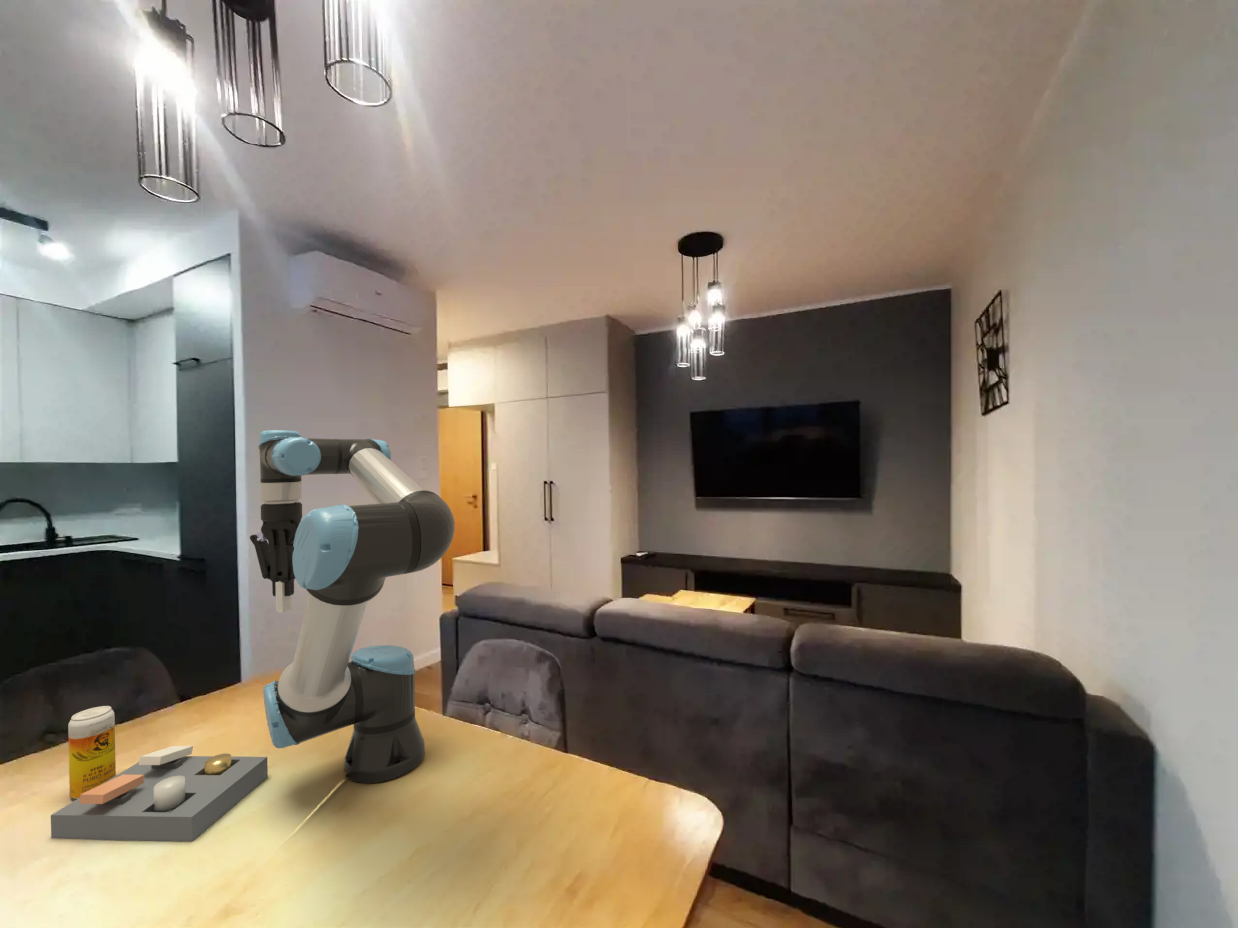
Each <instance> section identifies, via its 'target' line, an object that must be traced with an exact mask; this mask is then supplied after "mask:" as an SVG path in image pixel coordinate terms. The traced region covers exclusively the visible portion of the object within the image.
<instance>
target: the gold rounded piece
mask: <svg viewBox="0 0 1238 928" xmlns="http://www.w3.org/2000/svg"><path fill="white" fill-rule="evenodd" d="M212 756H213V755H212ZM231 756H232V754H230V753H219V754H217V755H214V756H213V757H211V758H209V759H208V760H206V761H205V763H204V771H205V775H221V774H223V773H224V772H225V771H227V770H228V769H229V768H230V767H231Z"/></svg>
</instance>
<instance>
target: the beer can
mask: <svg viewBox="0 0 1238 928" xmlns="http://www.w3.org/2000/svg"><path fill="white" fill-rule="evenodd" d="M115 721H116V719H115V712H114V710H113V709H112V706H110V705H102V706H96V707H91V708H88V709H85V710H84V709H83V710H81V711H79V712H76V713H75V714H73V715H72V716H71V718H70V721H69V722H68V726H67V729H68V731H67V732H68V775H69V797H70V798H72V799H74V800H75V799H78V798H80V794H82V793H85V792H87V791H89V790H91V789H93V788H95V787H97V786H99V785H101V784H103V783H105V782H106V781H108V780H110V779H111V778H113V777H115V776H116V775H117V773H116V771H117V770H116V769H117V767H116V765H117V764H116V761H117V760H116V729H115V728H116V724H115Z"/></svg>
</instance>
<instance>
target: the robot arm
mask: <svg viewBox="0 0 1238 928" xmlns="http://www.w3.org/2000/svg"><path fill="white" fill-rule="evenodd" d="M258 450H259V467H260V468H259V469H260V470H259V471H260V472H259V474H260V475H259V477H260V479H259V480H260V481H259V483H260V484H259V486H260V487H259V490H260V491H259V493H260V495H259V500H260V502H263V503H262V504H261V505H260V520H261V521H262V525H261V527H260V531H258V532H257V533H256V534H251V535H250V536H249V539H250V541H251V542H252V545H253V546H254V549H255V553H256V557H257V560H258V564H259V569H260V572H261V577H262V578H263V579H264V580H266V579H267V580H269V581H271V584H272V586H271V587H272V589H271V590H272V591H271V592H272V596H273V597H275V613H278V614H279V613H280V614H281V613H285V612H287V611H290V610H292V596H293V595H294V594H295V580H296V582H297V584H298V585H299V586H300V587H301V588H303V590H304V589H305V591H306V592H307V594H308V595H309V596H308V599H307V603H306V607H305V612H304V615H303V620H302V624H301V628H300V633H299V636H298V641H297V645H296V649H295V653H294V657H293V661H292V662H291V663H289V665H287V666H286V668H284V670H283V671H282V673H281V674H280V676H279V680H273V681H272V682H270V683H267V684H265V686H264V687H263V690H262V695H263V706H264V711H265V717H266V718H265V719H266V722H267V727H268V731H269V737H270V740H271V743H272V745H273V746H274V747H275V748H276V749H285V748H287V747H291V746H298V745H300V744H302V743H304V742H307V741H310V740H312V739H315V738H318V737H321V736H324V735H327V734H329V733H332V732H333V733H334V732H335V731H338V730H342V729H343V728H347V727H348V726H352V725H353V732H352V735H351V738H350V741H349V745H348V747H347V750H346V754H345V756H344V757H345V758H344V771H345V776H346V778H347V779H349V780H351V781H352V782H355V783H361V784H373V783H374V784H376V783H380V782H381V783H383V782H386V781H389V780H390V781H391V780H393V779H397V778H398V777H401V776H402V775H405V774H407V773H409V772H411V771H412V770H414V769H415V768H416V767H417V766H419V764H420V763H421V762H422V761H423V759H424V758H425V754H426V753H425V740H424V737H423V734H422V732H421V729H420V727H419V723H418V721H417V719H416V696H415V695H416V694H415V693H416V690H415V689H416V681H415V679H416V677H415V674H416V669H415V661H414V659H415V658H414V654H413V652H412V651H411V650H409V649H408V648H405V647H403V646H398V645H392V644H391V645H390V644H389V645H388V644H385V645H383V644H382V645H379V644H378V645H370V646H364V647H361V648H359V649H358V650H355V651H354V652H352V651H353V648H354V646H355V642H356V639H357V636H358V634H359V630H360V626H361V624H362V621H363V618H364V614H365V611H366V608H367V605H368V602H370V601H371V600H373V599H374V598H375V597H377V596H378V595H379V594H380V592H381V590H382V588H383V587H384V584H385V581H386V579H387V578H390V577H394V576H400V575H401V576H402V575H407V574H413V573H416V572H420V571H423V570H425V569H428V568H430V567H431V566H433V565H435V564H437V562H439V560H441V558H443V557H444V555H445V554H446V553H447V551H448V550H449V548H450V547H451V545H452V543H453V539H454V535H455V528H456V527H455V525H456V524H455V523H456V522H455V518H454V514H453V512H452V510H451V508H450V507H449V505H448V504H447V502H446V501H445V500H444V499H443V498H441V497H440V496H439V495H438V494H437V493H435V492H434V491H431V490H428V489H423V488H422V487H421V486H420V485H418V484H417V483H416V482H415V481H414V480H413V479H412V478H411V477H409V476H408V475H407V474H406V473H405V472H404V471H403V470H402V469H401V468H400V467H398V466H397V465H396V464H395V463H394V462H393V461H391V460H392V455H391V454H392V453H391V449H390V447H389V444H388V442H386V441H384V440H381V439H373V438H364V439H363V438H362V439H361V438H360V439H359V438H313V437H312V438H311V437H310V438H306V437H303V436H301V433H300V432H298V431H296V430H285V429H284V430H279V429H278V430H276V429H274V430H273V429H271V430H263V431H261V433H260V434H259V444H258ZM344 474H345V475H349V474H350V475H351V476H352V477H353V478H354V479H355V480H356V482H358V484H360V486H361V487H362V488H363V489H364V490H365V491H366V492H367V494H368V495H369V496H370V497H371V498H372V499H373V500H374V502H376V503H371V504H358V505H348V504H335V505H333V506H325V507H318V508H315V509H311V510H310V511H309V512H307V513H306V514H305V515H304V516H303V503H302V502H300V500H302V497H303V493H302V491H303V490H302V488H303V487H302V485H303V484H302V476H310V475H312V476H313V475H344ZM350 659H351V661H350Z"/></svg>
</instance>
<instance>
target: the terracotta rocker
mask: <svg viewBox="0 0 1238 928" xmlns="http://www.w3.org/2000/svg"><path fill="white" fill-rule="evenodd" d="M143 783H144V775H121V776H119V777H116V778H114V779H112V780H110V781H108V782H106V783H104V784H102V785H99V786H97V787H95V788H93V789H91V790H89V791H87V792H85V793H82V794H80V801H79V804H104V803H106V802H108V801H110V800H111V799H113V798H115V797H117V796H119V795H121V794H123V793H125V792H127V791H129V790H131V789H133V788H135V787H137V786H139V785H141V784H143Z"/></svg>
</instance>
